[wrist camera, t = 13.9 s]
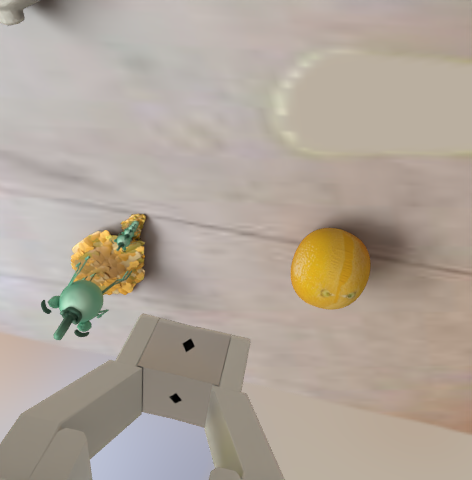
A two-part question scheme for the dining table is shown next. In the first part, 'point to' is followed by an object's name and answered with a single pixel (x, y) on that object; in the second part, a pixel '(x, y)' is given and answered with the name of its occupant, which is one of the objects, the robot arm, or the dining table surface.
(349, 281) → the fruit
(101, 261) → the green and yellow piece
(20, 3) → the dish
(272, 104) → the dining table surface
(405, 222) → the dining table surface
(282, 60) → the dining table surface
